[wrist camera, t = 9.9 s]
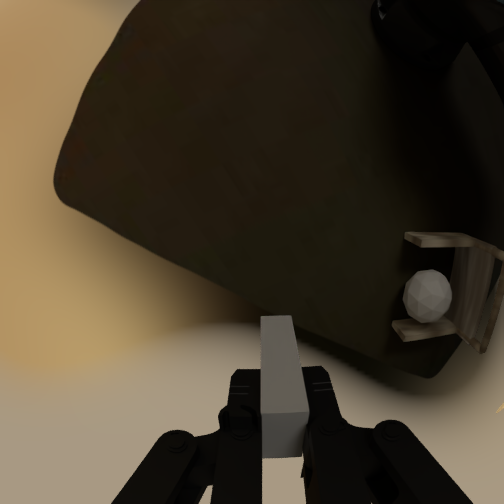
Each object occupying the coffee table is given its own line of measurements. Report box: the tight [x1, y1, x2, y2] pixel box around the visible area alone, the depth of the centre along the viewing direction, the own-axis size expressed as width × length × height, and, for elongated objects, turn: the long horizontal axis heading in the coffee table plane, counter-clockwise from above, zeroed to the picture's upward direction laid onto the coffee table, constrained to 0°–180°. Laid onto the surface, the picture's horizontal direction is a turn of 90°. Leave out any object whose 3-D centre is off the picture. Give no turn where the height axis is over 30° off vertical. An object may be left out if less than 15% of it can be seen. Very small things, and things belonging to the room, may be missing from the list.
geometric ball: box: [403, 269, 452, 323], centre depth 36 cm, size 8×8×8 cm
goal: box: [392, 232, 504, 354], centre depth 33 cm, size 12×15×13 cm
